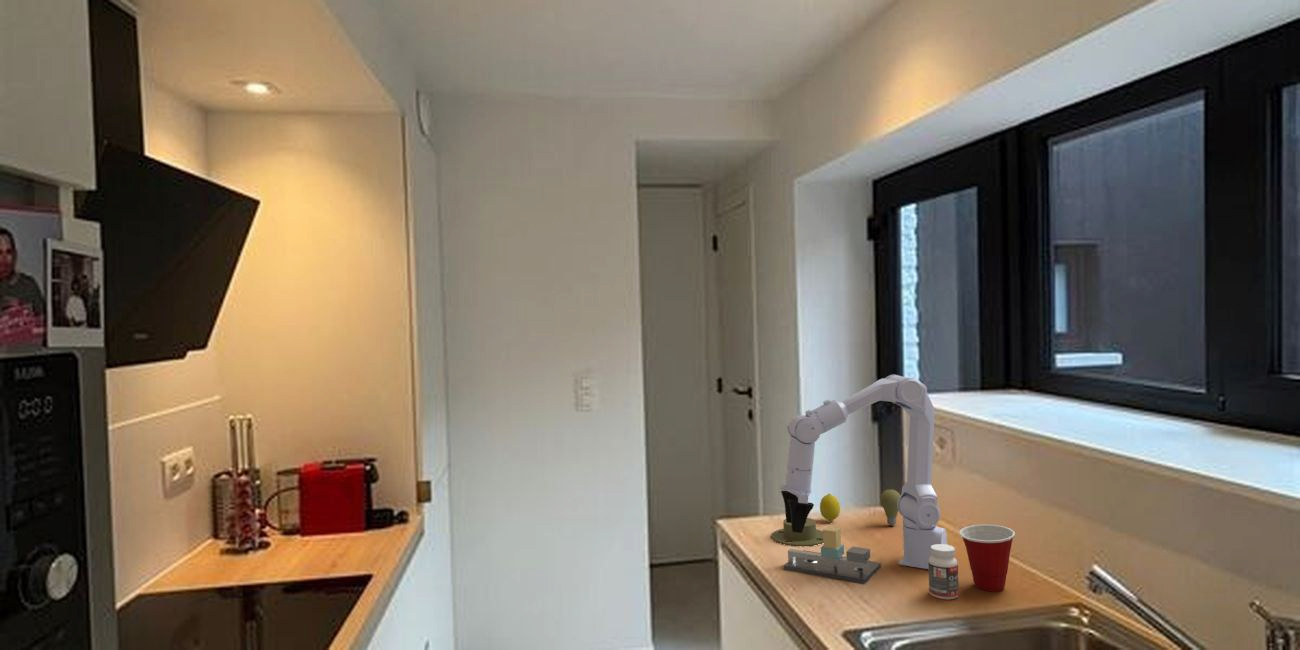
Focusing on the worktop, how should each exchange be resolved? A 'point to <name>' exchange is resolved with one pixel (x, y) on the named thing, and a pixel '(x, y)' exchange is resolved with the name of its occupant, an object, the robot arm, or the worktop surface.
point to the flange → (799, 534)
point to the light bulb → (890, 505)
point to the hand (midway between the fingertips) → (794, 527)
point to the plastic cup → (988, 554)
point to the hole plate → (832, 569)
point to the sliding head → (832, 543)
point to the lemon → (830, 507)
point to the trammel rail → (854, 559)
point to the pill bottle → (943, 572)
